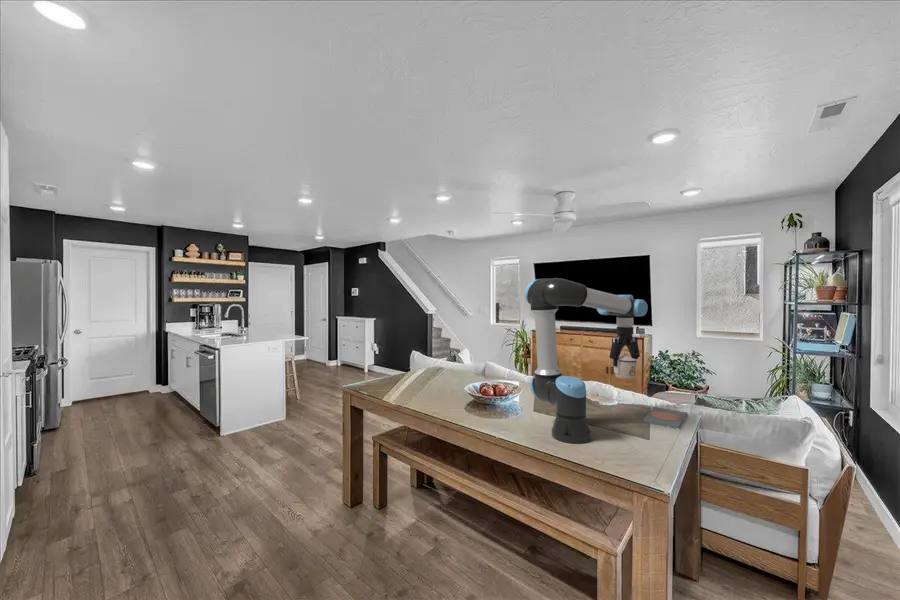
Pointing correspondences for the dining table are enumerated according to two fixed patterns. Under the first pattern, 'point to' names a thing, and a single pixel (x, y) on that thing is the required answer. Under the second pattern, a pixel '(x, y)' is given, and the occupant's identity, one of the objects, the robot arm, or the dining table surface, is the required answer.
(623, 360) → the teacup with lid
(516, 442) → the dining table surface
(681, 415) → the slate tray
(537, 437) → the dining table surface
